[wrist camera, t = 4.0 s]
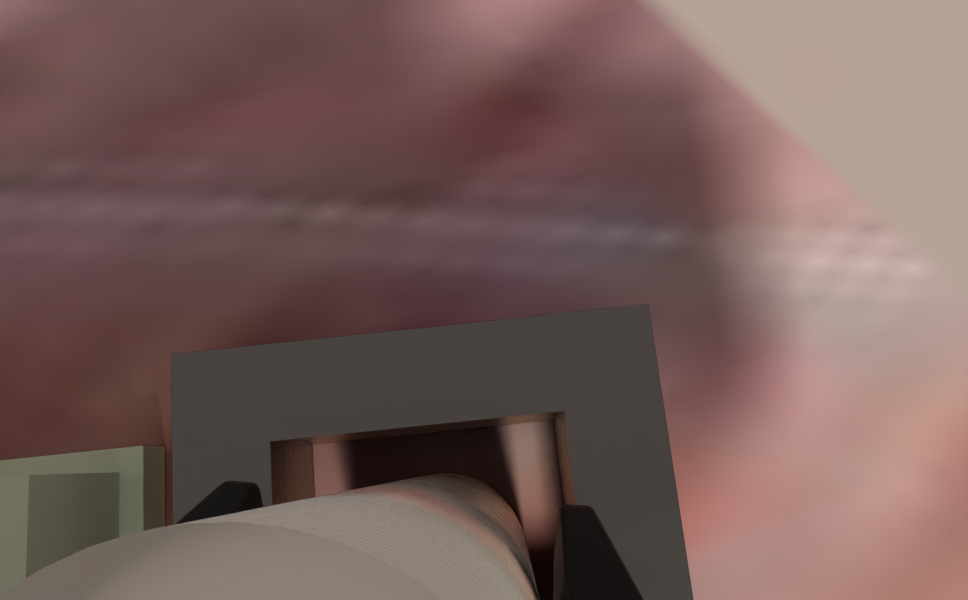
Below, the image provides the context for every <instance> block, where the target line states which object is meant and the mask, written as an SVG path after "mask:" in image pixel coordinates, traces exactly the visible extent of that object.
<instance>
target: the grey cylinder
mask: <svg viewBox="0 0 968 600" xmlns="http://www.w3.org/2000/svg"><path fill="white" fill-rule="evenodd" d="M0 600H540V599H539V595H538V590H537V586H536V582H535V578H534V573H533V569H532V565H531V561H530V557H529V552H528V548H527V544H526V540H525V536H524V533H523V530H522V527H521V525H520V523H519V520H518V518H517V517H516V515H515V513H514V512H513V510H512V508H511V507H510V506H509V505H508V503H507V502H506V501H505V500H504V499H503V498H502V497H501V496H500V495H499V494H498V493H497V492H496V491H494V490H493V489H491V488H490V487H489V486H487V485H485V484H484V483H482V482H480V481H478V480H475V479H473V478H470V477H467V476H463V475H459V474H450V473H440V474H432V475H426V476H421V477H416V478H410V479H405V480H400V481H395V482H390V483H385V484H380V485H375V486H370V487H364V488H359V489H354V490H349V491H344V492H339V493H334V494H329V495H324V496H318V497H313V498H308V499H303V500H298V501H293V502H288V503H283V504H278V505H272V506H267V507H262V508H257V509H252V510H247V511H242V512H237V513H232V514H226V515H221V516H216V517H211V518H206V519H201V520H196V521H191V522H186V523H180V524H175V525H170V526H165V527H160V528H155V529H150V530H145V531H140V532H135V533H132V534H129V535H126V536H122V537H119V538H116V539H113V540H110V541H106V542H103V543H100V544H97V545H94V546H90V547H88V548H86V549H83V550H81V551H79V552H77V553H75V554H72V555H70V556H68V557H66V558H64V559H62V560H59V561H57V562H55V563H53V564H51V565H48V566H46V567H44V568H42V569H40V570H39V571H37V572H36V573H34V574H32V575H31V576H29V577H27V578H26V579H24V580H23V581H21V582H19V583H18V584H16V585H14V586H13V587H11V588H10V589H8V590H6V591H5V592H3V593H2V594H0Z"/></svg>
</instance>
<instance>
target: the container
mask: <svg viewBox="0 0 968 600" xmlns="http://www.w3.org/2000/svg"><path fill="white" fill-rule="evenodd" d="M160 527H165V446H134V447H124V448H114V449H105V450H95V451H85V452H76V453H66V454H57V455H47V456H37V457H28V458H18V459H9V460H0V594H2V593H3V592H5V591H6V590H8V589H10V588H11V587H13V586H14V585H16V584H18V583H19V582H21V581H23V580H24V579H26V578H27V577H29V576H31V575H32V574H34V573H36V572H37V571H39V570H40V569H42V568H44V567H46V566H48V565H51V564H53V563H55V562H57V561H59V560H62V559H64V558H66V557H68V556H70V555H72V554H75V553H77V552H79V551H81V550H83V549H86V548H88V547H90V546H94V545H97V544H100V543H103V542H106V541H110V540H113V539H116V538H119V537H122V536H126V535H129V534H132V533H135V532H140V531H145V530H150V529H155V528H160Z"/></svg>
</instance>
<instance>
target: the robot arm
mask: <svg viewBox="0 0 968 600" xmlns="http://www.w3.org/2000/svg"><path fill="white" fill-rule="evenodd" d="M262 507H263V502H262V497H261V492H260V489H259V487H258V485H257V484H256V483H253V482H245V481H226V482H224V483H222V484H220V485H219V486H218V487H217V488H216V489H214V490H213V491H212V492H211V493H210V494H209V495H208V496H206V497H205V498H204V499H203V500H202V501H201V502H200V503H198V504H197V505H196V506H195V507H194V508H193V509H191V510H190V511H189V512H188V513H187V514H186V515H185V516H183V517H182V518H181V519H180V520H179V521H178V522H177V523H175V524H180V523H186V522H191V521H196V520H201V519H206V518H211V517H216V516H221V515H226V514H232V513H237V512H242V511H247V510H252V509H257V508H262ZM175 524H174V525H175ZM553 600H645V599H644V597H643V595H642V594H641V592H640V590H639V588H638V586H637V585H636V583H635V581H634V579H633V578H632V576H631V574H630V572H629V570H628V569H627V567H626V565H625V563H624V561H623V560H622V558H621V556H620V554H619V552H618V551H617V549H616V547H615V545H614V544H613V542H612V540H611V538H610V536H609V535H608V533H607V531H606V529H605V527H604V526H603V524H602V522H601V520H600V518H599V517H598V515H597V513H596V512H595V510H594V509H593V508H592V507H590V506H587V505H573V504H564V505H562V506H561V507H560V509H559V514H558V522H557V531H556V539H555V548H554V571H553Z"/></svg>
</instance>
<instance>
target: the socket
mask: <svg viewBox="0 0 968 600" xmlns="http://www.w3.org/2000/svg"><path fill="white" fill-rule="evenodd" d="M171 388H172V482H173V525H174V524H175V523H177V522H178V521H179V520H180V519H181V518H182V517H183V516H185V515H186V514H187V513H188V512H189V511H190V510H191V509H193V508H194V507H195V506H196V505H197V504H198V503H200V502H201V501H202V500H203V499H204V498H205V497H206V496H208V495H209V494H210V493H211V492H212V491H213V490H214V489H216V488H217V487H218V486H219V485H220V484H222V483H224V482H226V481H245V482H253V483H256V484H257V485H258V487H259V489H260V492H261V497H262V502H263V507H267V506H272V505H278V504H283V503H288V502H293V501H298V500H303V499H308V498H313V497H315V492H314V473H313V453H312V445H314V444H324V443H334V442H343V441H353V440H363V439H372V438H382V437H391V436H401V435H411V434H420V433H430V432H440V431H449V430H459V429H468V428H478V427H488V426H497V425H507V424H517V423H526V422H536V421H545V420H554V423H555V431H556V440H557V448H558V456H559V465H560V473H561V481H562V490H563V498H564V504H573V505H587V506H590V507H592V508H593V509H594V510H595V512H596V513H597V515H598V517H599V518H600V520H601V522H602V524H603V526H604V527H605V529H606V531H607V533H608V535H609V536H610V538H611V540H612V542H613V544H614V545H615V547H616V549H617V551H618V552H619V554H620V556H621V558H622V560H623V561H624V563H625V565H626V567H627V569H628V570H629V572H630V574H631V576H632V578H633V579H634V581H635V583H636V585H637V586H638V588H639V590H640V592H641V594H642V595H643V597H644V599H645V600H693V594H692V588H691V581H690V575H689V568H688V561H687V555H686V548H685V542H684V535H683V529H682V522H681V515H680V509H679V502H678V496H677V489H676V482H675V476H674V469H673V463H672V456H671V450H670V443H669V436H668V430H667V423H666V417H665V410H664V404H663V397H662V390H661V384H660V377H659V371H658V364H657V357H656V351H655V344H654V338H653V331H652V325H651V318H650V311H649V305H648V304H646V305H636V306H627V307H617V308H607V309H598V310H588V311H579V312H569V313H560V314H550V315H541V316H531V317H522V318H512V319H503V320H493V321H484V322H474V323H464V324H455V325H445V326H436V327H426V328H417V329H407V330H398V331H388V332H379V333H369V334H360V335H350V336H341V337H331V338H321V339H312V340H302V341H293V342H283V343H274V344H264V345H255V346H245V347H236V348H226V349H217V350H207V351H198V352H188V353H179V354H171Z"/></svg>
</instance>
